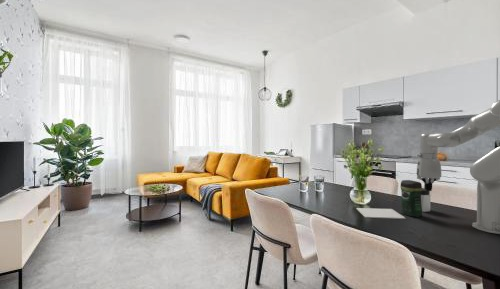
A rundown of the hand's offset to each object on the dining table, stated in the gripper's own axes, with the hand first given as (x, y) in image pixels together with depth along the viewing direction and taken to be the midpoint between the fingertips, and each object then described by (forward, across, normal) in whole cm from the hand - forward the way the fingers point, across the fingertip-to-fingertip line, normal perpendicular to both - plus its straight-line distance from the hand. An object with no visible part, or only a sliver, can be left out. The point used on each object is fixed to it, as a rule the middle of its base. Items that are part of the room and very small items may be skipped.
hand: (428, 190), depth 127 cm
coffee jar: (+14, -8, 0) cm, 16 cm away
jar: (+14, +1, +10) cm, 17 cm away
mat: (+13, -25, -1) cm, 28 cm away
